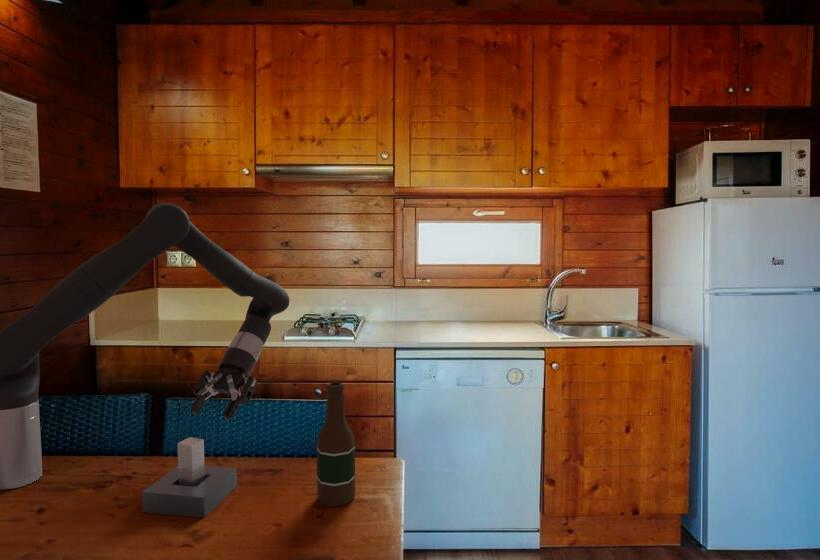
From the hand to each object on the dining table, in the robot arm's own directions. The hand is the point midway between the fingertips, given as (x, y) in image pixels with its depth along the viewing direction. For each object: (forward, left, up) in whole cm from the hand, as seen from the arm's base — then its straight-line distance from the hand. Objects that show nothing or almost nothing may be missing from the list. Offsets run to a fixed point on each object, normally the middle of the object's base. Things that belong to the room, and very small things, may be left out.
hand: (210, 415), depth 120 cm
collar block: (+2, -11, -13) cm, 18 cm away
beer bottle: (+31, -6, -14) cm, 34 cm away
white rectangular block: (+2, -11, -13) cm, 18 cm away
